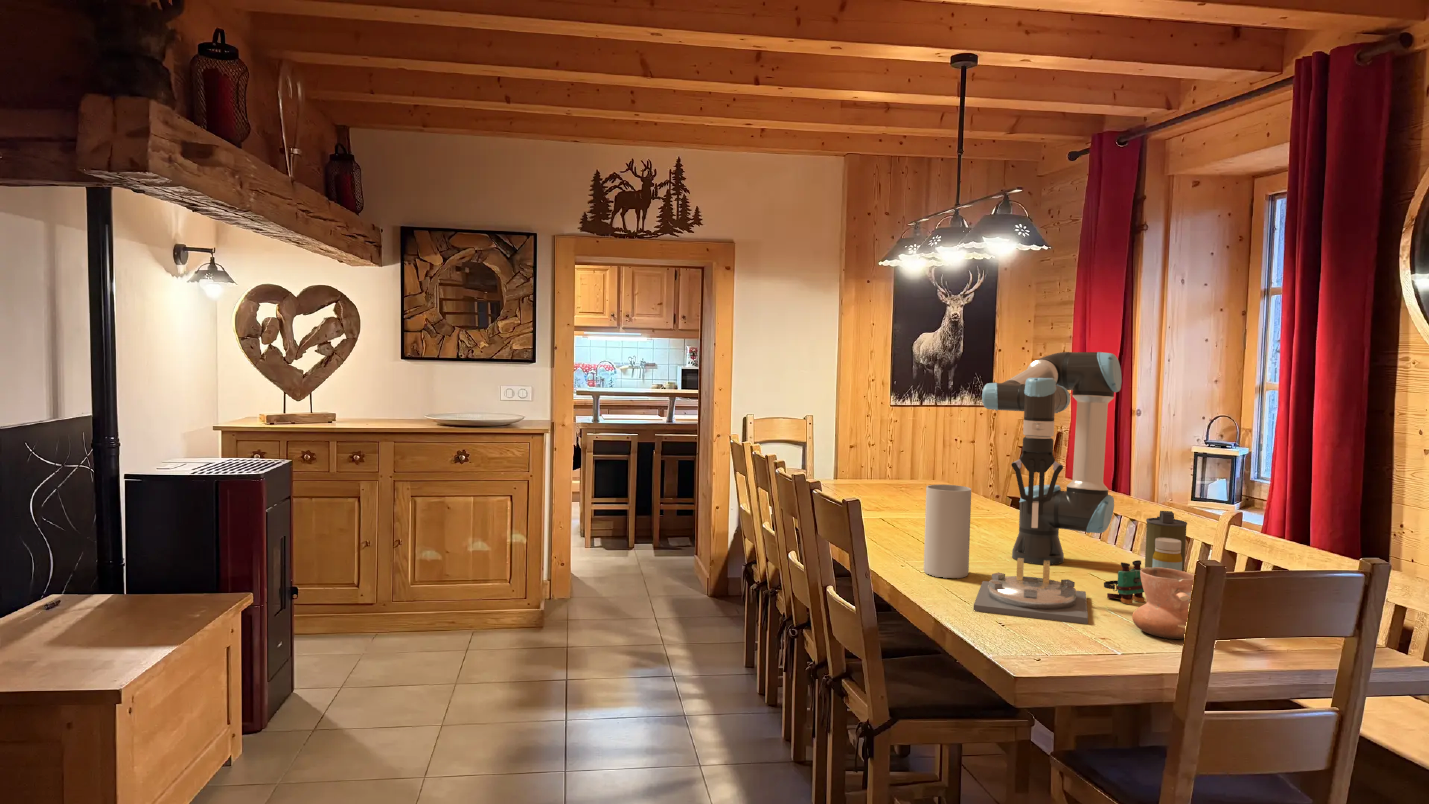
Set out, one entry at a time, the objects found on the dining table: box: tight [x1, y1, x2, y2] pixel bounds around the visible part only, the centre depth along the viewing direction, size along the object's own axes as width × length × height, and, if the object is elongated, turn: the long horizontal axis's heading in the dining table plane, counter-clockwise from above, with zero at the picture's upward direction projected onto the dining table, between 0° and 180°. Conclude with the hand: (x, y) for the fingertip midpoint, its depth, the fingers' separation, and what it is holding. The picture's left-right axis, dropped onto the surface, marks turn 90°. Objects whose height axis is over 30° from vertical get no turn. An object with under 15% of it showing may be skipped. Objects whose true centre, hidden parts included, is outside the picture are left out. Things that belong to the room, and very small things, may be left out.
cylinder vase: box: [923, 484, 972, 579], centre depth 258 cm, size 12×12×25 cm
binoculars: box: [1103, 559, 1146, 605], centre depth 235 cm, size 9×11×10 cm
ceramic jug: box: [1131, 567, 1195, 640], centre depth 206 cm, size 18×14×14 cm
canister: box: [1144, 510, 1188, 572], centre depth 254 cm, size 11×10×20 cm
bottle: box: [1152, 538, 1182, 571], centre depth 239 cm, size 7×7×15 cm
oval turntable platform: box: [988, 558, 1077, 610], centre depth 229 cm, size 21×21×8 cm
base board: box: [973, 580, 1089, 625], centre depth 229 cm, size 26×26×2 cm
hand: (1034, 526), depth 235 cm, fingers closed
